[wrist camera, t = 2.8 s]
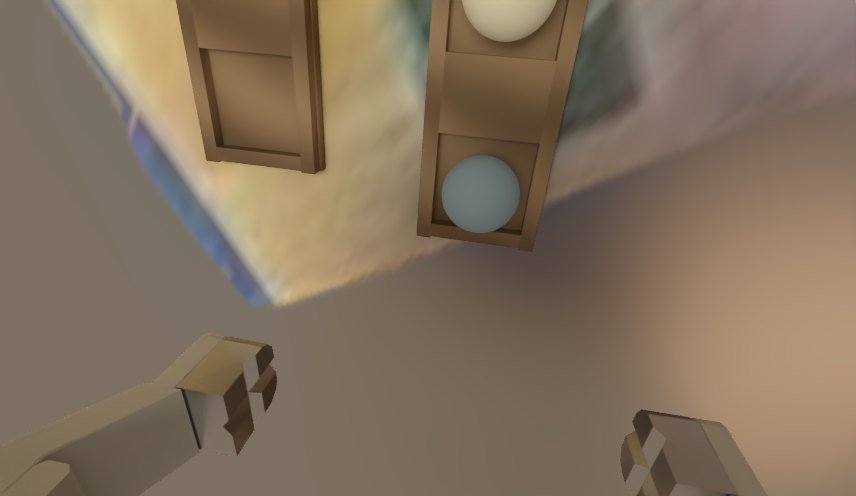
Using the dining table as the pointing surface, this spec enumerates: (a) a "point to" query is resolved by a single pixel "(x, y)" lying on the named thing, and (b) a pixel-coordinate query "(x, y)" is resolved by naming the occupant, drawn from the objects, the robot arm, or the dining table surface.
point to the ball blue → (480, 193)
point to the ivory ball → (507, 17)
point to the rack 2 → (495, 112)
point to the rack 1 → (256, 80)
